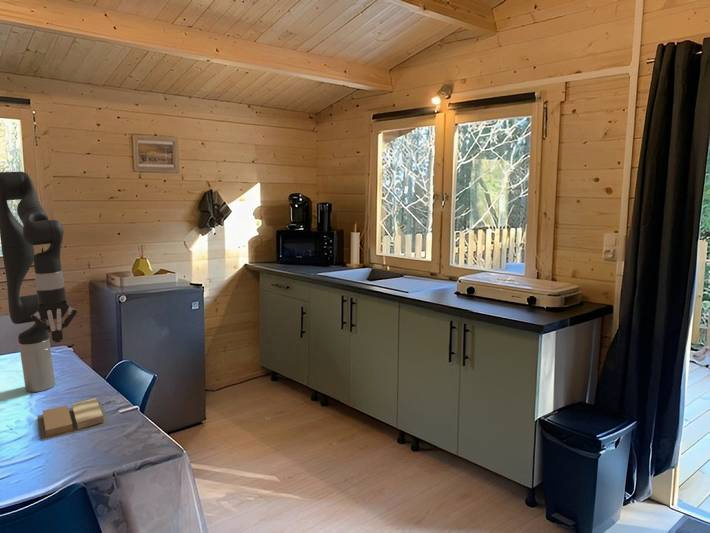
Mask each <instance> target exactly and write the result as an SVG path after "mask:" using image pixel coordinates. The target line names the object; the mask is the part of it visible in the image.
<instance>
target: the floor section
mask: <svg viewBox="0 0 710 533" xmlns="http://www.w3.org/2000/svg"><path fill="white" fill-rule="evenodd" d="M97 402H98V404H99V407H100V409H101V412H102V414H103V418H104V422H102V423H98V424H95V425H91V426H87V427H84V428H80V429H78V427H77V423H76V420H75V416H74V413H73V409H72V407H71V408H69V406H68V405H62V406H58V407H52V408H48V409H44V410H42V414H39V415H37V422H38V429H39V438H40V442H44V441H48V440H52V439H55V438H59V437H65V436H69V435H72V434H77V433H81V432H84V431H85V432H86V431H89V430H93V429H96V428H100V427H102V428H103V427H105V426H109V425H111V422H110V420H109V417H108V416H107V413H106V411H105V410H106V409H105V408H104V406H103V404H102V401H97Z"/></svg>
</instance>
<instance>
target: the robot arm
mask: <svg viewBox="0 0 710 533" xmlns="http://www.w3.org/2000/svg"><path fill="white" fill-rule="evenodd" d="M18 200H19V202H18V204H17V207H16V214H17V216H18V218H19V220H20V222H22V224H21V223H20V222H19V220H18V219H16V217H15V216H14V214H13V212H12V211H11V209H10V207H9V203H8V201H18ZM64 231H65V230H64V227H63V225H62V223H61V222H60V221H58V220H57V219H49V217H48V214H47V212H46V211H45V209H44V208H43V207H42V205H41V203H40V201H39V198H38V194H37V191H36V189H35V186H34V183H33V180H32V179H31V177H30V175H29V174H28V173H27V172H24V171H0V246H1V247H0V248H1V253H2V254H1V255H2V259H3V260H2V261H3V265H4V271H5V272H4V273H5V276H6V286H7V301H8V302H7V303H8V313H9V318H10V321H11V322H12V324H14V325H22V324H26V323H27V324H28V323H32V322H34V324H33V325H32V326H31V327H29V328H28V329H26V330H24V331H22V332H21V333H19V334H18V335H17V336H18V337H17V339H18V347H19V352H20V360H21V368H22V374H23V379H24V380H23V381H24V388H25V391H26V392H28V393H36V392H37V393H38V392H43V391H45V390H46V391H47V390H49V389H51V388H53V387H55V385H56V380H55V379H56V378H55V372H54V365H53V357H52V350H51V343H50V335H49V334H51V340H52V342H55V343H61V342H62V340H63V339H64V338H63V329H65V328H68V326H69V325H70V323H71V322H72V320H73V319H74V318H75V316H76V314H77V313H78V311H77V309H76V308H73V307H71V306H70V304H69V303H68V302H67V295H66V294H67V293H66V287H65V285H66V284H65V279H64V275H63V271H62V263H61V252H62V250H61V249H62V243H63V238H64V234H65V232H64ZM39 245H49V247H48V248H47V249H46V250H44V251H41V252H37V253H36V254H35V247H34V246H39ZM32 265H33V266H34V267H33V268H34V272H35V276H34V277H35V281H34V282H35V289H36V293H35V294H28V295H23V296H20V291H21V286H22V284H23V281H24V279H25V277H26V276H27V274H28V272H29V270H30V268H31V267H32ZM66 313H67V316H66V318H65V319H64V321H63V322H62V318H63V317H65V315H66ZM54 320H55V321H56V322H55V321H54ZM48 323H49V324H48ZM55 323H56V326H55ZM49 331H50V332H51V333H49Z"/></svg>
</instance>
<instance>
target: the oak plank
mask: <svg viewBox="0 0 710 533" xmlns="http://www.w3.org/2000/svg"><path fill="white" fill-rule="evenodd" d="M98 402H99V401H98V400H97V397H93V398H90V399H86V400H82V401H78V402H74V403H72V404H71V408H72V409H73V413H74V416H75V420H76V423H77V427H78V429H80V428H84V427H87V426H91V425H95V424H98V423H102V422H104V418H103V414H102V412H101V409H100V407H99V404H98Z"/></svg>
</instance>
